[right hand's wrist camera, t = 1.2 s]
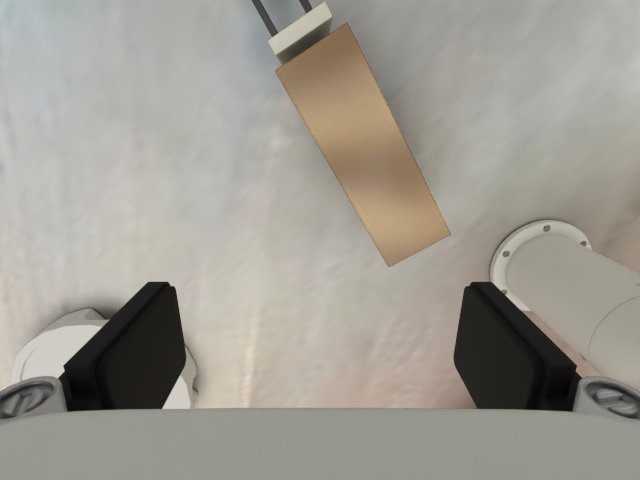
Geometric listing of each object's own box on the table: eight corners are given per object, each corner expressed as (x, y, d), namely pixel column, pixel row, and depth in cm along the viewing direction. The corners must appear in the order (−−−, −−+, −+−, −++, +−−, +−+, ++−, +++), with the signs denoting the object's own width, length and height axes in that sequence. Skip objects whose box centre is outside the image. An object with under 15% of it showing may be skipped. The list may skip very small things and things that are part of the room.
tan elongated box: (285, 81, 37) (274, 70, 27) (337, 47, 36) (347, 22, 26) (370, 229, 43) (388, 267, 33) (416, 203, 42) (451, 234, 32)
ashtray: (103, 275, 45) (84, 290, 41) (232, 383, 51) (226, 404, 47) (0, 370, 50) (-26, 391, 46) (129, 457, 56) (116, 482, 52)
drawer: (243, -4, 34) (218, -44, 25) (288, -37, 33) (280, -90, 24) (363, 206, 41) (376, 233, 33) (402, 184, 41) (427, 205, 32)
